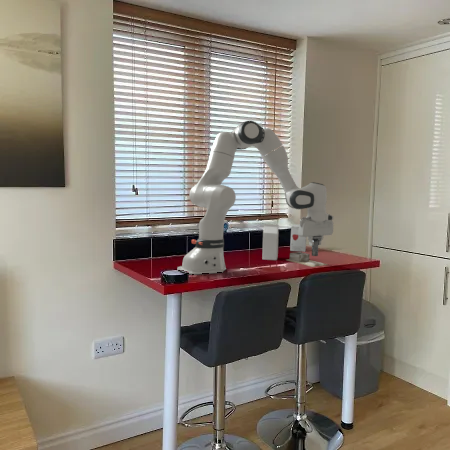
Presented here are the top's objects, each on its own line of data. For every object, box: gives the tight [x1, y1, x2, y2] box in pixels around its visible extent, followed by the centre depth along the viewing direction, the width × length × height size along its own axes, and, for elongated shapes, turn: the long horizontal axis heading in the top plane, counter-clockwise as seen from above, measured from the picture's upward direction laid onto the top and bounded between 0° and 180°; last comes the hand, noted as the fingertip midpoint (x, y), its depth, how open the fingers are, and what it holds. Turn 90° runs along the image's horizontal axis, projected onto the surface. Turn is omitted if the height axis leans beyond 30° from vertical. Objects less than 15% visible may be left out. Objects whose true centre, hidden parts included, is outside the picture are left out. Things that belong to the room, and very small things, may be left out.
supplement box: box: [289, 223, 307, 253], centre depth 266 cm, size 9×9×15 cm
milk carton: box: [261, 223, 279, 261], centre depth 230 cm, size 7×7×19 cm
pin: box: [311, 236, 322, 257], centre depth 217 cm, size 6×6×10 cm
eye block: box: [286, 251, 329, 268], centre depth 223 cm, size 11×19×5 cm, turn 34°
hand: (315, 245), depth 217 cm, fingers closed on pin, 3 cm apart
